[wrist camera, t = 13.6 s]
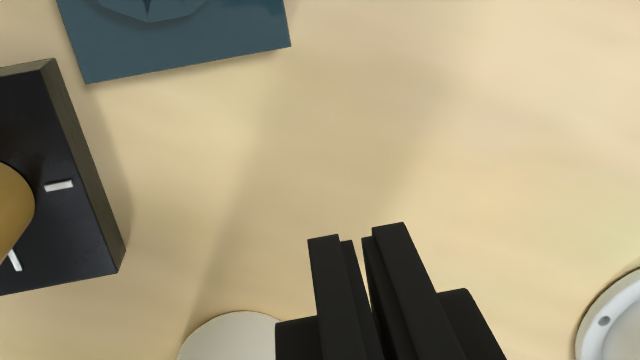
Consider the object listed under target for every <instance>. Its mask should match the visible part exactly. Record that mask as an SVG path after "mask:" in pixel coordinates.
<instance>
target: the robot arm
mask: <svg viewBox="0 0 640 360" xmlns="http://www.w3.org/2000/svg"><path fill="white" fill-rule="evenodd" d="M307 241H308V249H309V257H310V264H311V271H312V279H313V286H314V294H315V301H316V309H317V315H316V316H311V317H305V318H300V319H294V320H289V321H284V322H278V323H276V324H275V360H507V359H506V357H505V355H504V354H503V352H502V350H501V348H500V346H499V344H498V343H497V341H496V339H495V337H494V335H493V334H492V332H491V330H490V328H489V326H488V325H487V323H486V321H485V319H484V317H483V315H482V314H481V312H480V310H479V308H478V306H477V305H476V303H475V301H474V299H473V297H472V296H471V294H470V293H469V291H468V290H467V289H465V288H461V289H456V290H450V291H445V292H439V293H436V291H435V289H434V287H433V285H432V282H431V280H430V278H429V276H428V274H427V272H426V269H425V267H424V265H423V263H422V261H421V259H420V256H419V254H418V252H417V250H416V248H415V246H414V243H413V241H412V239H411V237H410V235H409V233H408V230H407V228H406V226H405V224H404V222H399V223H394V224H388V225H383V226H377V227H372V236H369V237H364V238H361V241H362V249H363V256H364V262H365V269H366V276H367V283H368V289H369V296H370V303H371V308H370V304H369V301H368V297H367V293H366V290H365V286H364V282H363V279H362V275H361V271H360V268H359V264H358V260H357V257H356V253H355V249H354V246H353V242H352V240H347V241H342V242H340V240H339V236H338V234H334V235H329V236H323V237H318V238H312V239H307ZM371 309H372V312H371ZM575 355H576V360H640V269H638V270H636V271H634V272H632V273H630V274H628V275H626V276H625V277H623V278H622V279H620V280H619V281H617V282H616V283H614V284H613V285H612V286H611V287H610V288H609V289H607V290H606V291H605V292H604V293H603V294H602V295H601V296H600V297H599V298H598V299H597V300H596V301H595V303H594V304H593V305H592V306H591V307H590V309H589V311H588V312H587V314H586V315H585V317H584V319H583V320H582V323H581V325H580V328H579V330H578V333H577V337H576V343H575Z"/></svg>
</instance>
